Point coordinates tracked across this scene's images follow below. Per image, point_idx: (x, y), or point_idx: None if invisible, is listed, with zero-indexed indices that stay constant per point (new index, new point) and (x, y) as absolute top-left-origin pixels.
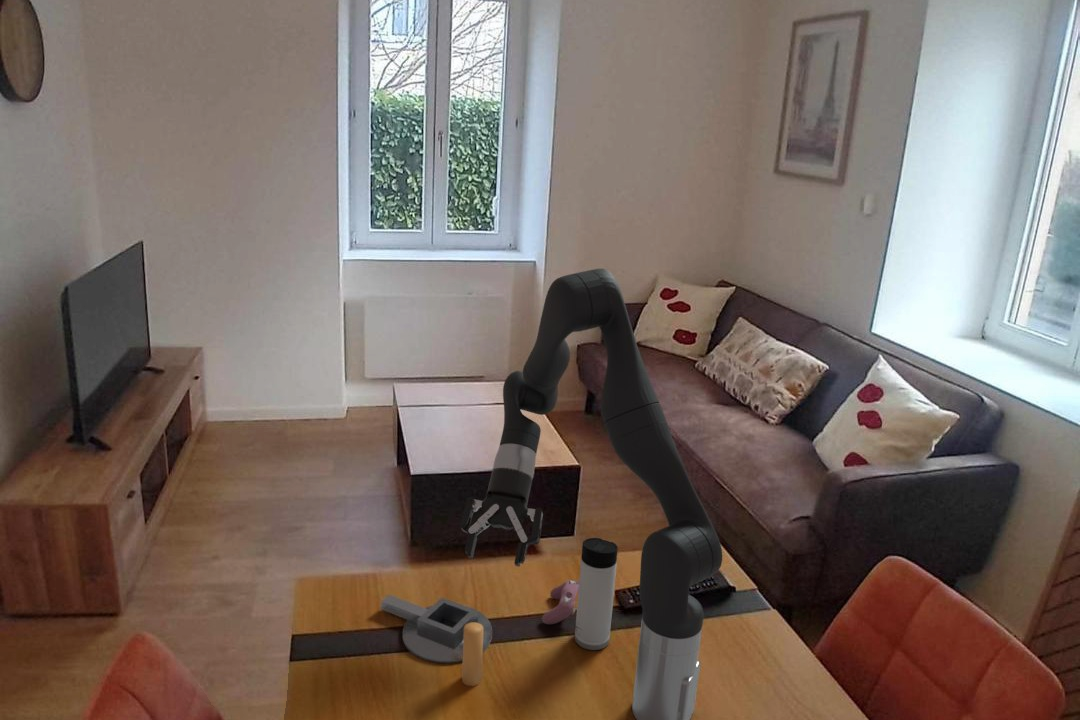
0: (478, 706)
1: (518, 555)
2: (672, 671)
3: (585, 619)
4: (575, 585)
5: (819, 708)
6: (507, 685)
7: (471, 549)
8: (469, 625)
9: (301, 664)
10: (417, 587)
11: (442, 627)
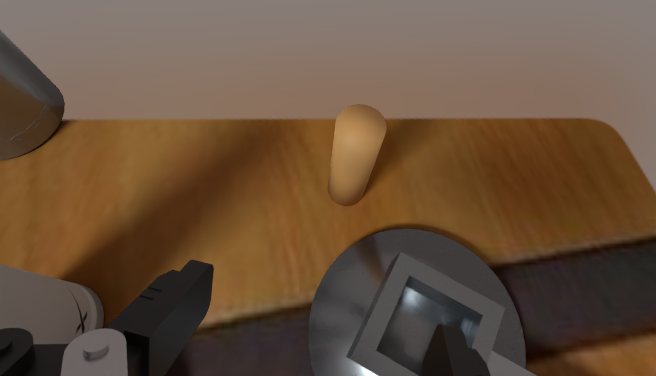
0: (330, 128)
1: (179, 279)
2: None
3: (39, 278)
4: None
5: None
6: (278, 175)
7: (447, 343)
8: (372, 136)
9: None
10: None
11: (434, 276)
